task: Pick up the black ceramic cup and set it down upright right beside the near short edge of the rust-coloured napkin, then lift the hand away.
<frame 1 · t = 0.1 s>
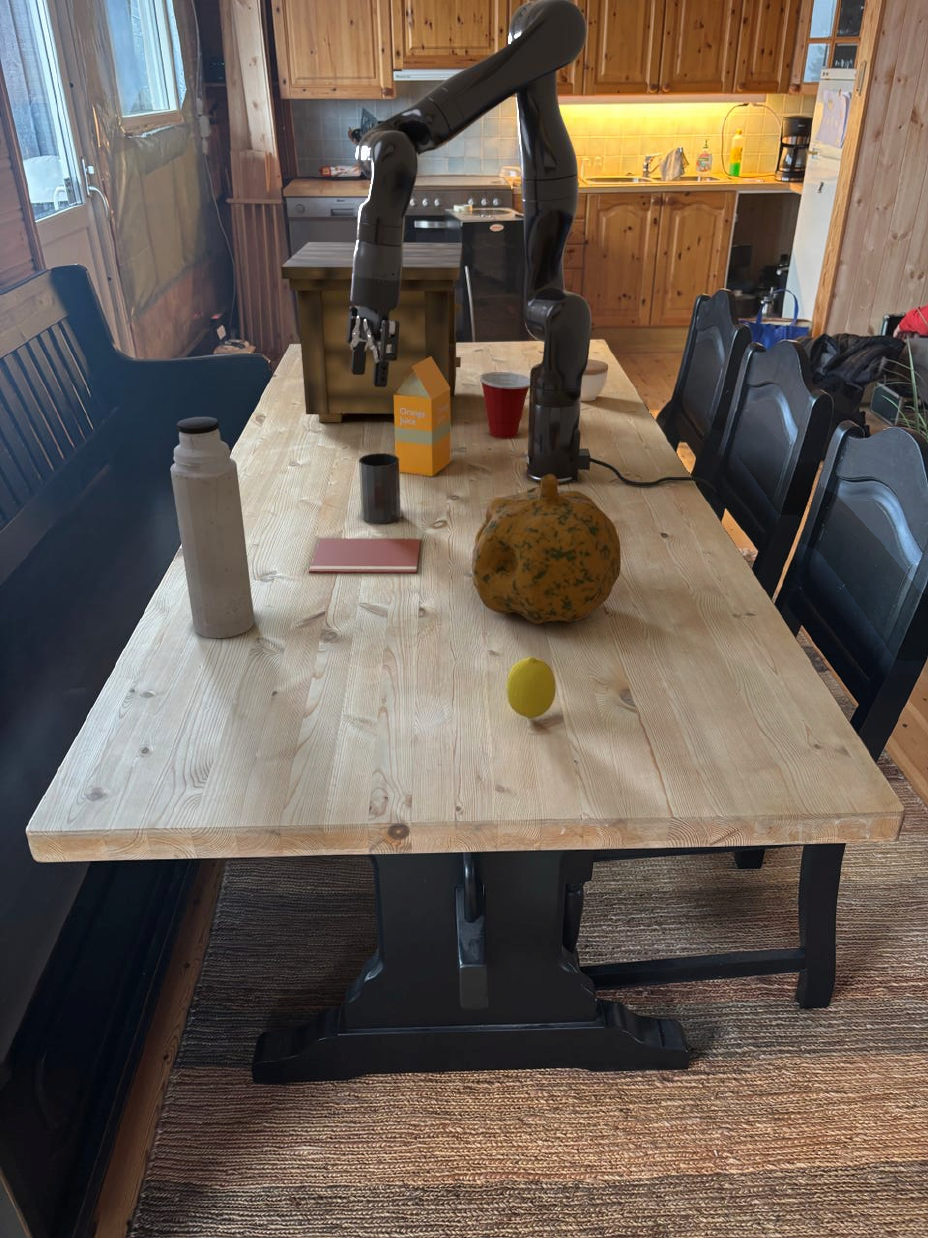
hand: (368, 380, 157), 22 cm above the table, tool pointing down, fingers open, 8 cm apart
crate: (383, 406, 224), on the table
thermos bottle: (224, 625, 132), on the table
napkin: (366, 556, 151), on the table
plastic cup: (504, 435, 205), on the table
decorative pumpkin: (541, 606, 137), on the table
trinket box: (582, 398, 229), on the table
lemon: (529, 719, 112), on the table
orange juice: (423, 467, 187), on the table
black cup: (381, 516, 165), on the table
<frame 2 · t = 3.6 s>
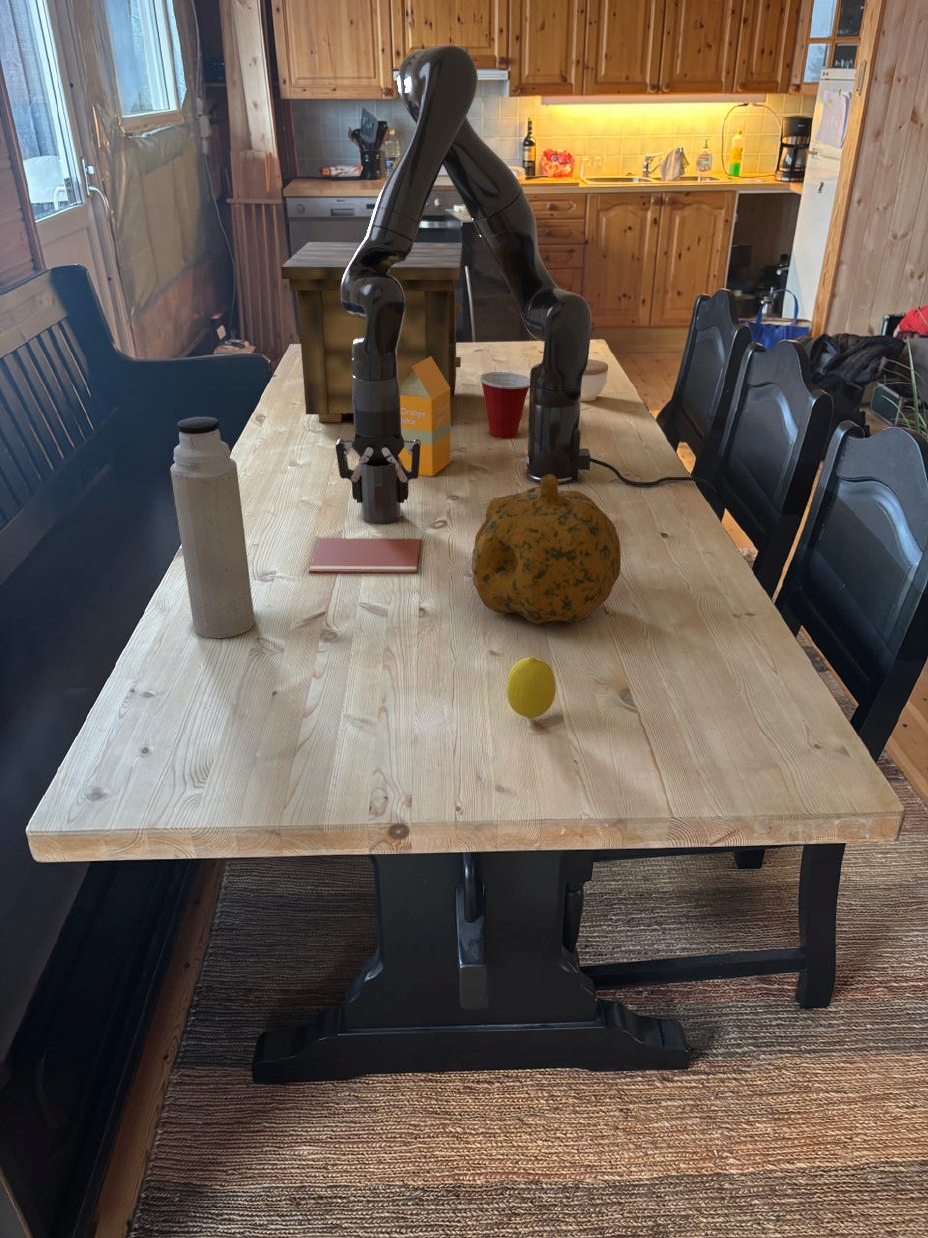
hand: (380, 501, 164), 3 cm above the table, tool pointing down, fingers closed on black cup, 6 cm apart
black cup: (381, 516, 165), on the table, touching gripper
everything else where it was.
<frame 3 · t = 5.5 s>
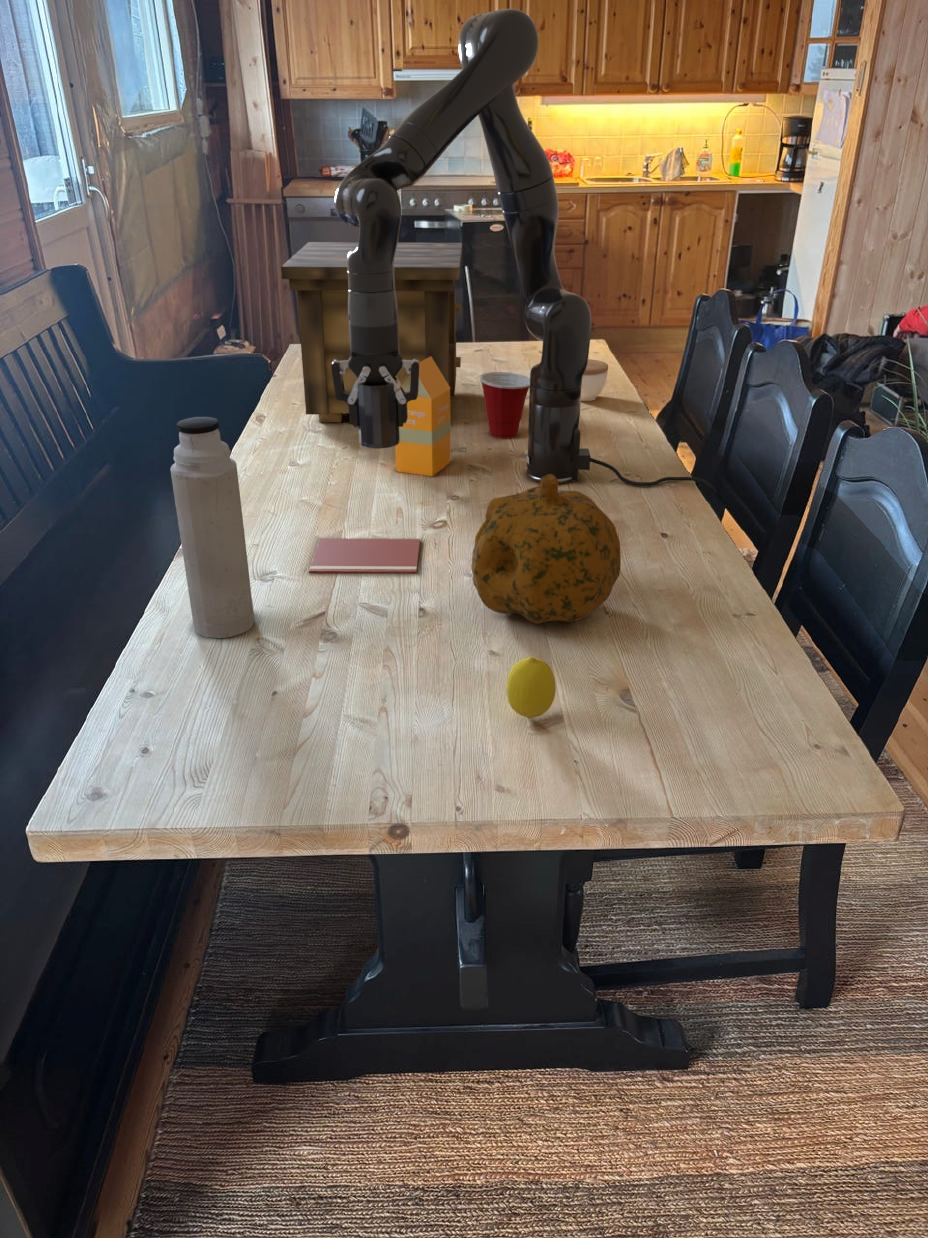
hand: (378, 425, 158), 16 cm above the table, tool pointing down, fingers closed on black cup, 6 cm apart
black cup: (379, 442, 159), point 13 cm above the table, touching gripper
everything else where it was.
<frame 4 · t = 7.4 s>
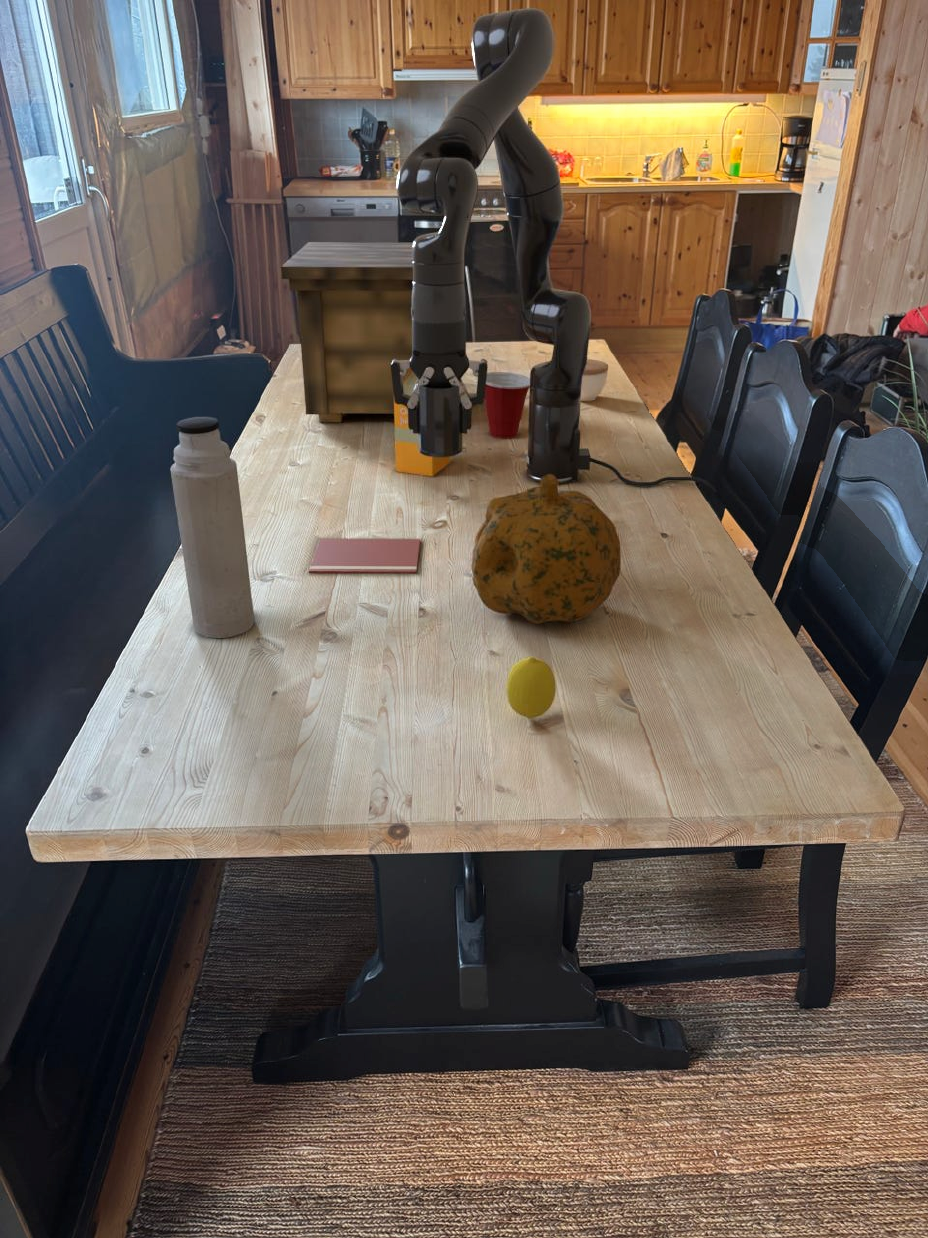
hand: (440, 431, 144), 19 cm above the table, tool pointing down, fingers closed on black cup, 6 cm apart
black cup: (440, 450, 145), point 16 cm above the table, touching gripper
everything else where it was.
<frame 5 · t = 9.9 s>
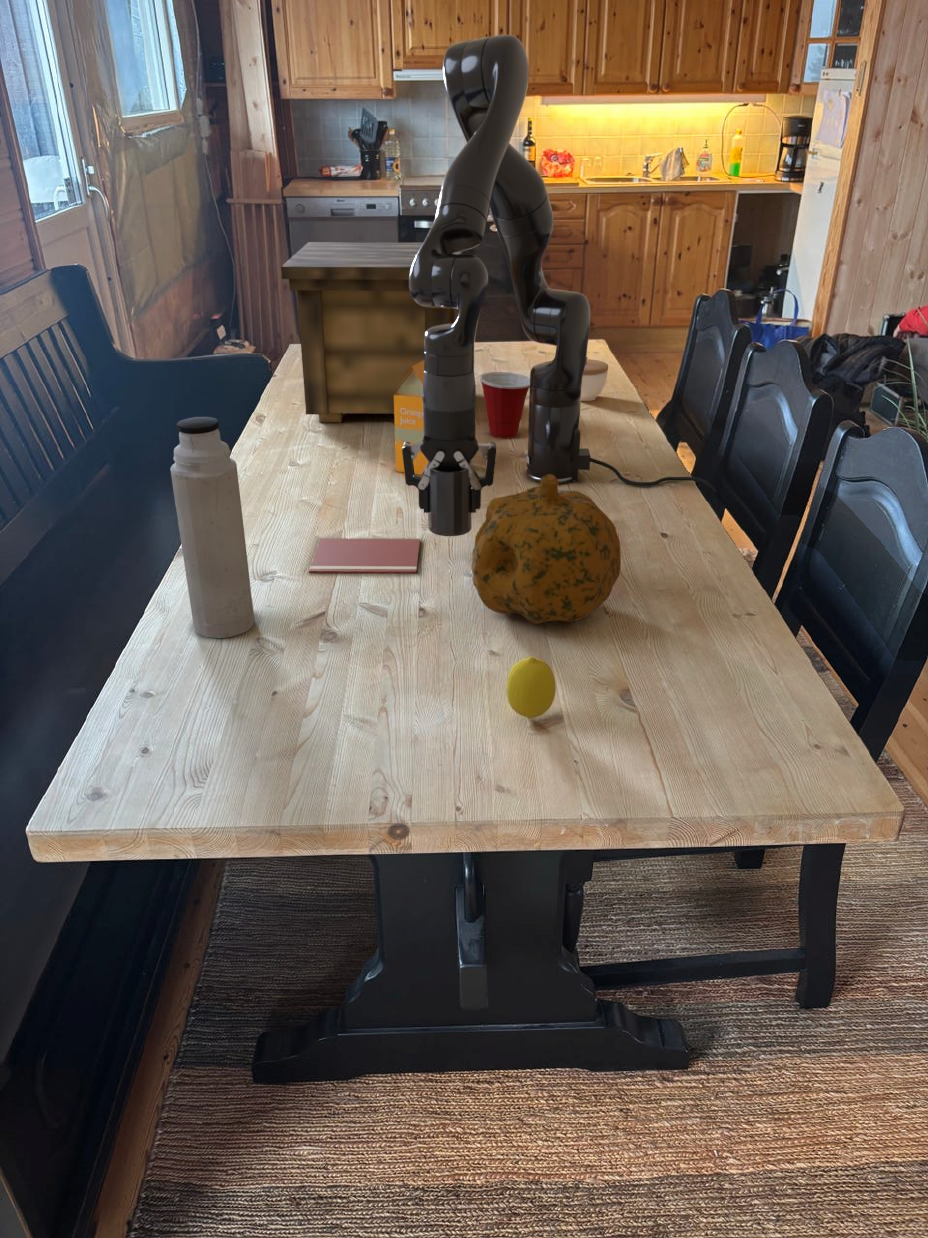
hand: (449, 510, 148), 8 cm above the table, tool pointing down, fingers closed on black cup, 6 cm apart
black cup: (450, 527, 149), point 5 cm above the table, touching gripper
everything else where it was.
when the fingers open (3 cm above the table, at t = 11.7 s): black cup stays where it is, on the table.
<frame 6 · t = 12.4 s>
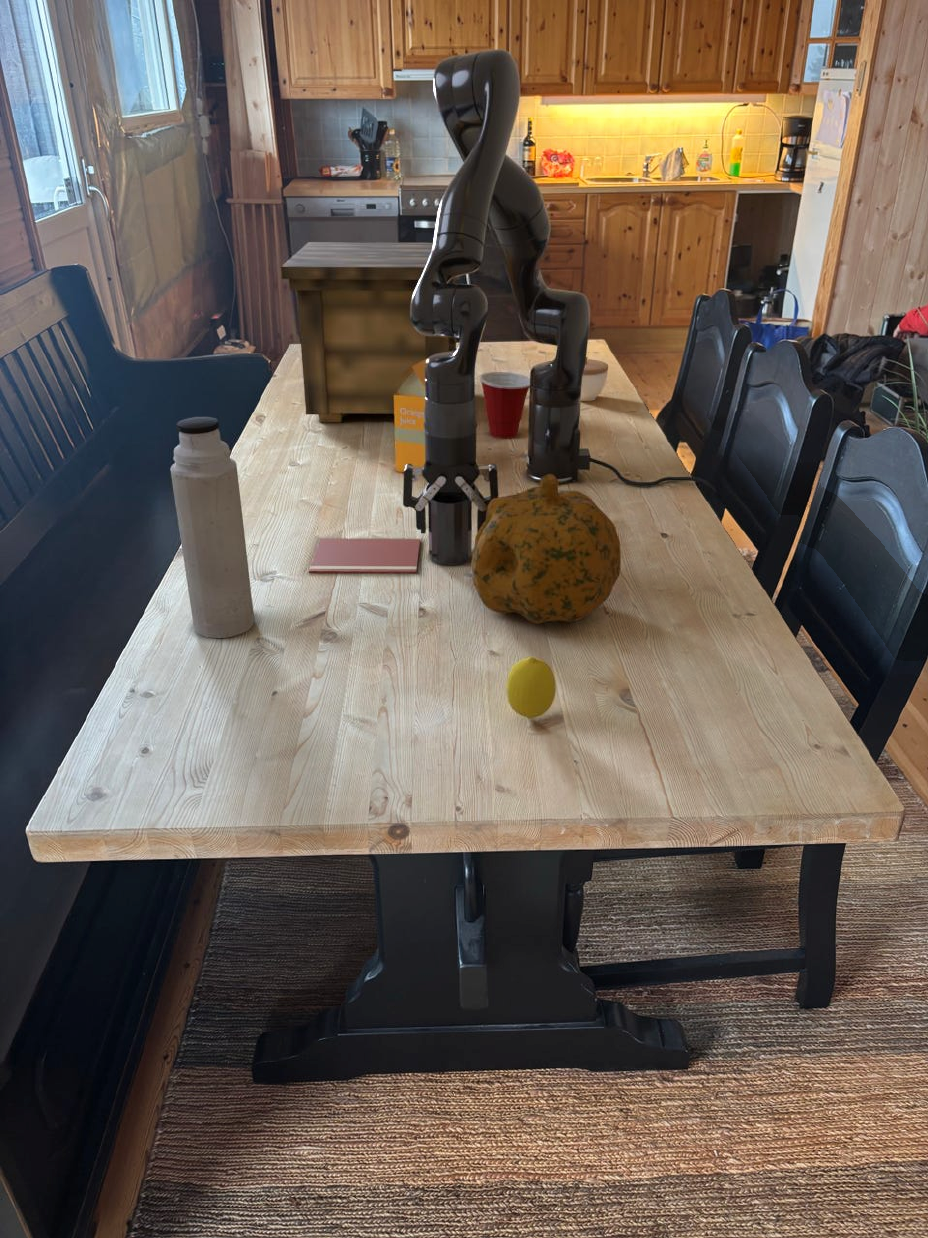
hand: (451, 531, 149), 4 cm above the table, tool pointing down, fingers open, 8 cm apart
black cup: (450, 556, 151), on the table
everything else where it was.
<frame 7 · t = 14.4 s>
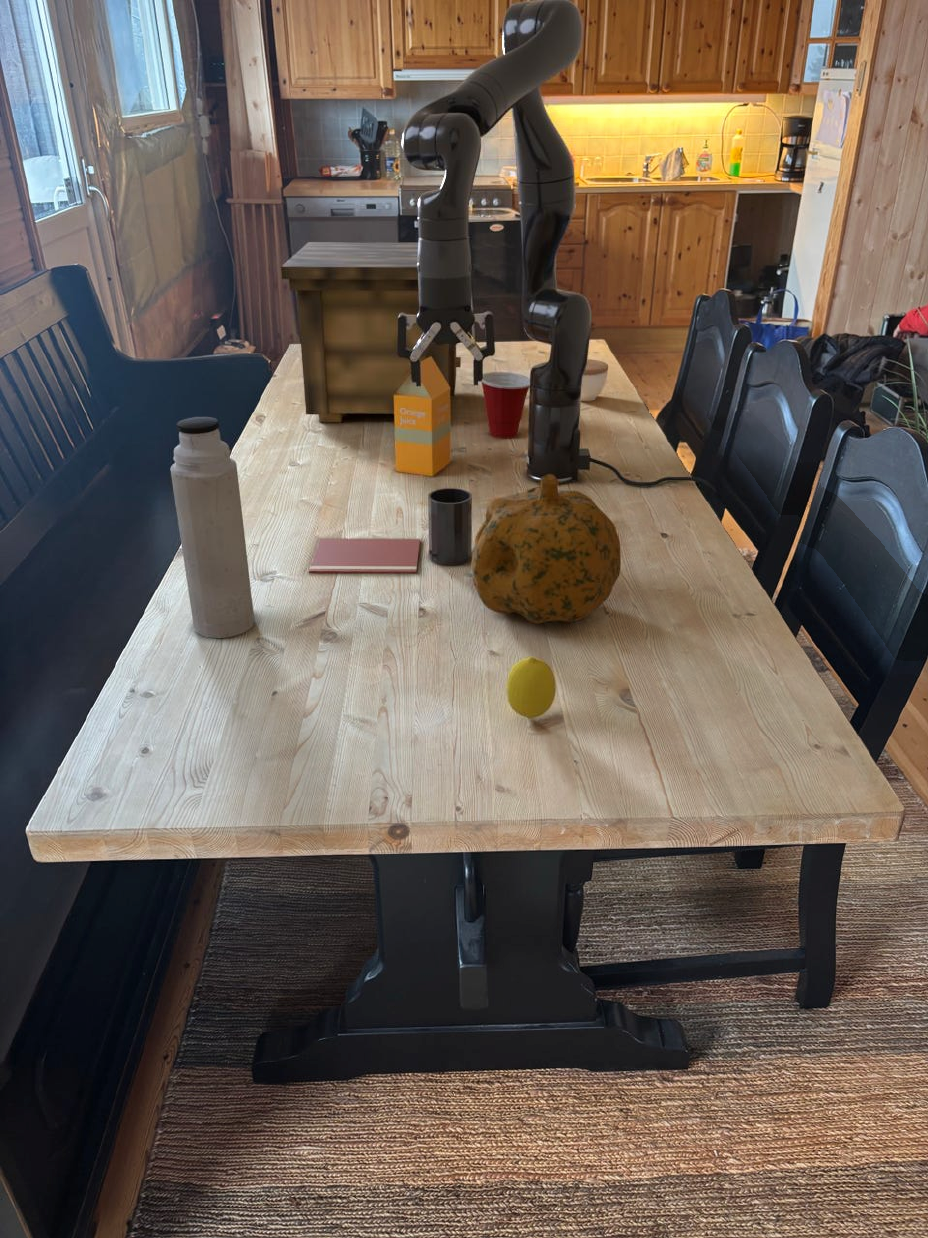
hand: (447, 384, 147), 25 cm above the table, tool pointing down, fingers open, 8 cm apart
nothing on the table moved.
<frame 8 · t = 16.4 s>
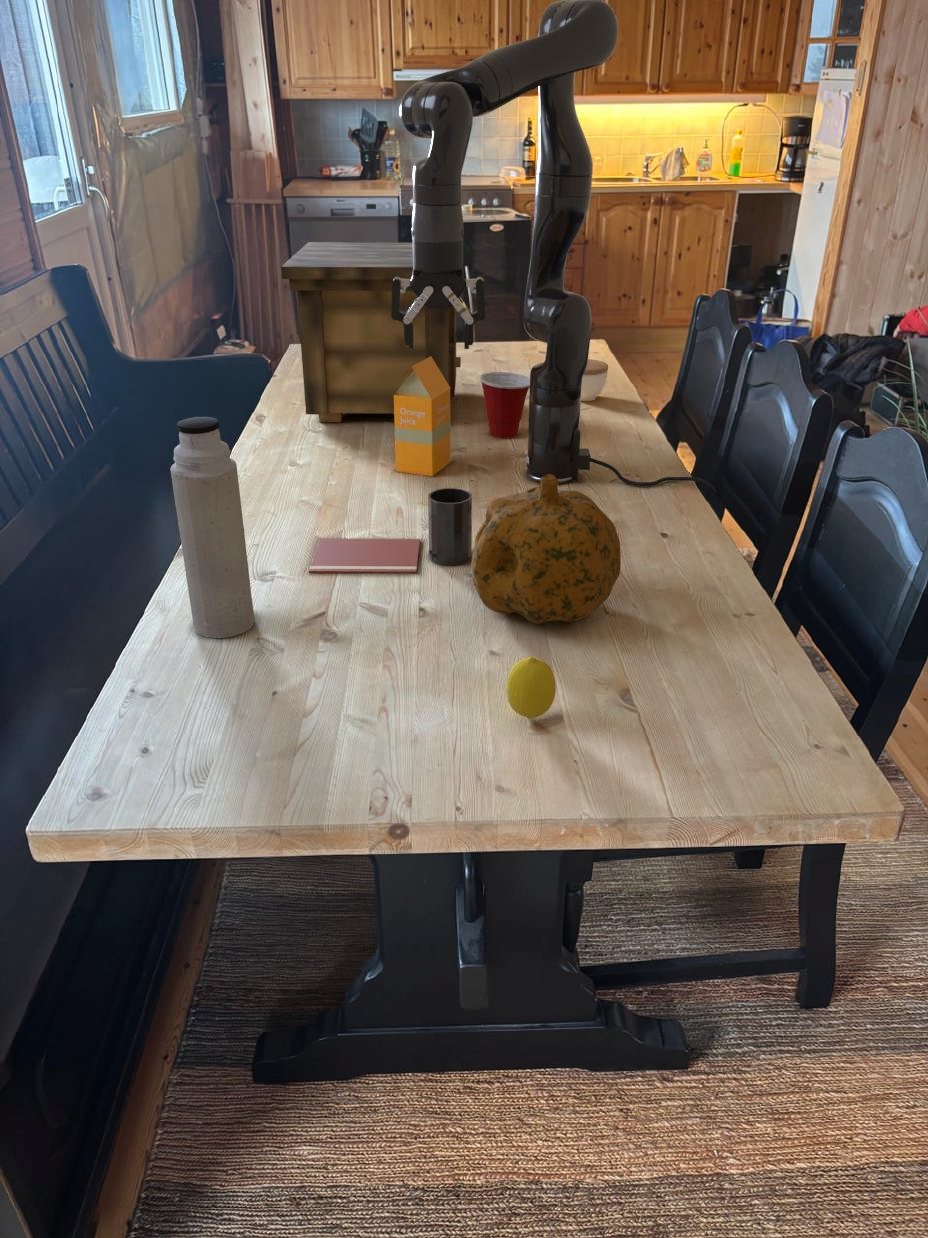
hand: (438, 347, 152), 28 cm above the table, tool pointing down, fingers open, 8 cm apart
nothing on the table moved.
at the end: black cup inside the target area (0.2 cm from its centre), on the table; black cup tilted 0° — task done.
